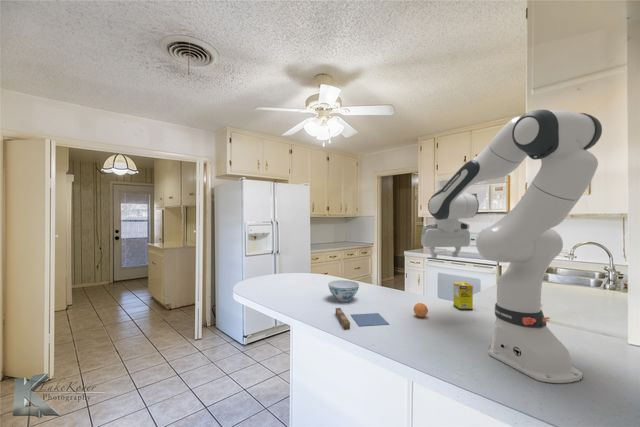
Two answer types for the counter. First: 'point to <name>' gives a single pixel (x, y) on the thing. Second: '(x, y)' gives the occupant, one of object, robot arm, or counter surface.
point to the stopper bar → (342, 318)
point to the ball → (420, 309)
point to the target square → (369, 319)
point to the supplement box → (463, 296)
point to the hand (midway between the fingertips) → (444, 257)
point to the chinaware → (343, 289)
